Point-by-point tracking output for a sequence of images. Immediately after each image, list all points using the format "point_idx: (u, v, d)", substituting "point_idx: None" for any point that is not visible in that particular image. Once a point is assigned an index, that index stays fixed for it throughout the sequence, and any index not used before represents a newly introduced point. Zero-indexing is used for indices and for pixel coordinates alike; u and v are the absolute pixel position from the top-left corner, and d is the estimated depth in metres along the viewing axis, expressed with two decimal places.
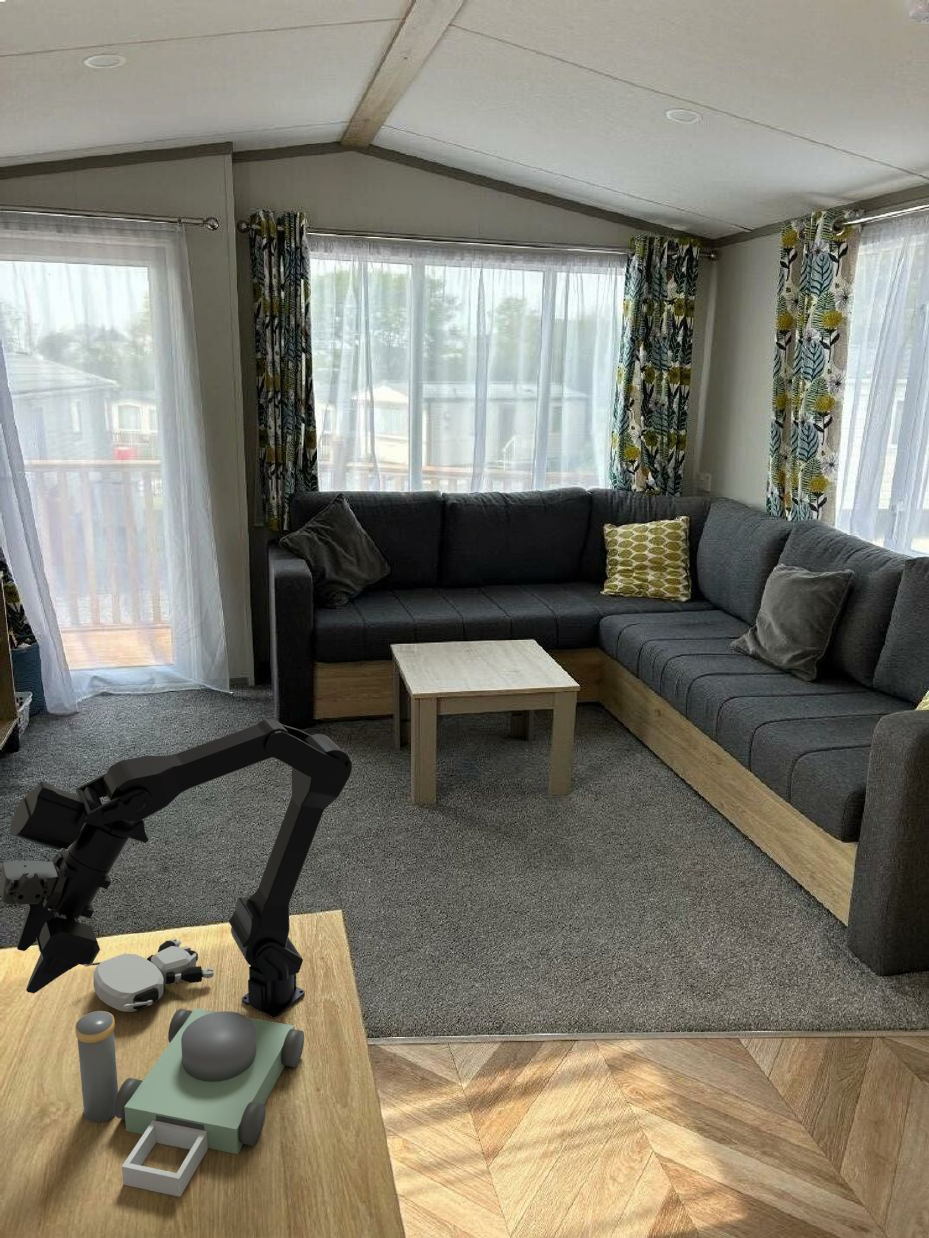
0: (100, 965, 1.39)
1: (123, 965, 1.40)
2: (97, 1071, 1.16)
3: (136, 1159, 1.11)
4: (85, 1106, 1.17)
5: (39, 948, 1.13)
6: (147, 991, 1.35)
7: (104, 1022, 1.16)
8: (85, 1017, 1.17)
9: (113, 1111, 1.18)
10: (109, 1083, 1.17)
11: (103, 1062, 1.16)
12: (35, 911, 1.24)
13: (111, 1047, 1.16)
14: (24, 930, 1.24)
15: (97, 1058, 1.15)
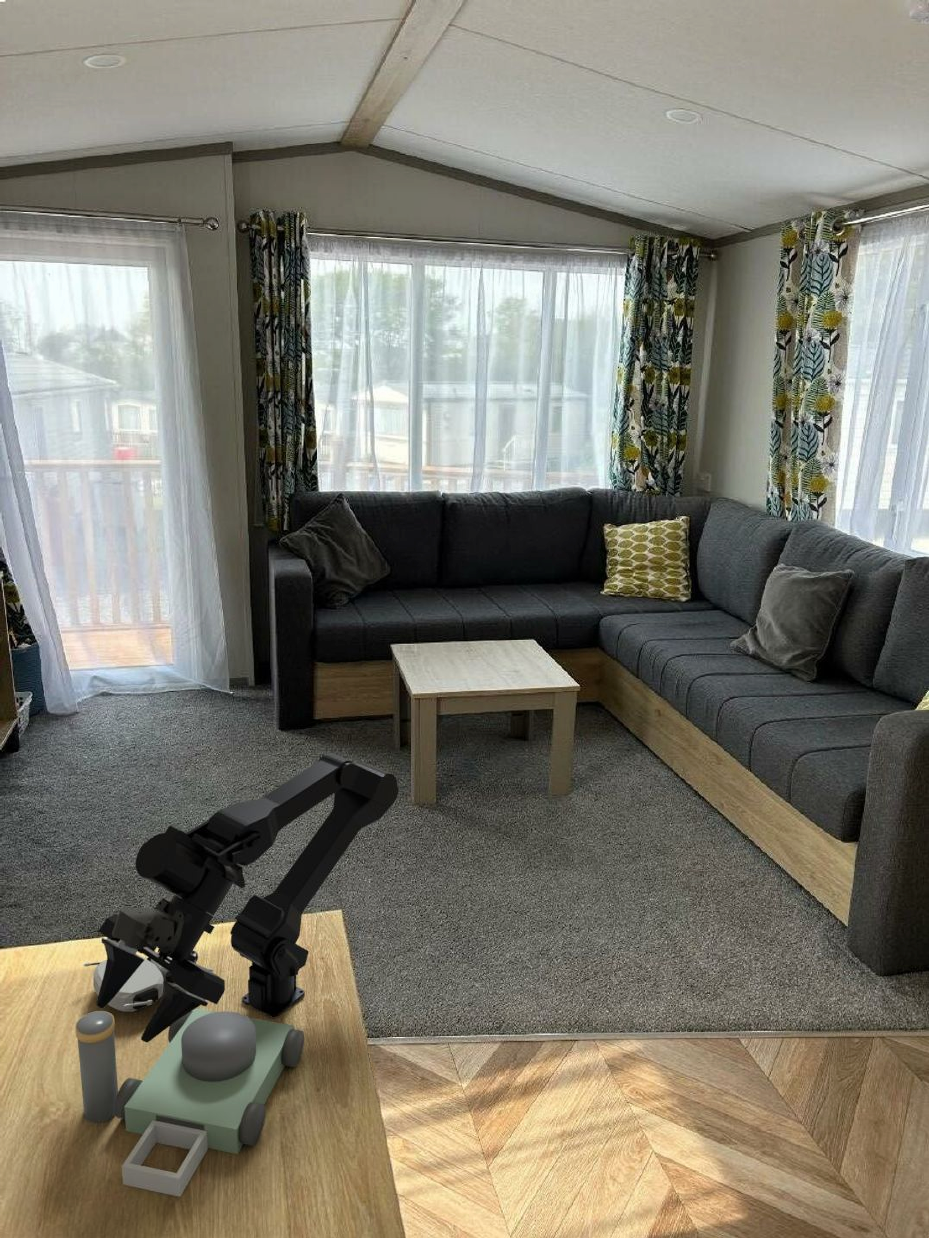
0: (100, 965, 1.39)
1: None
2: (97, 1071, 1.16)
3: (136, 1159, 1.11)
4: (85, 1106, 1.17)
5: (176, 989, 1.15)
6: (147, 991, 1.35)
7: (104, 1022, 1.16)
8: (85, 1017, 1.17)
9: (113, 1111, 1.18)
10: (109, 1083, 1.17)
11: (103, 1062, 1.16)
12: (118, 965, 1.23)
13: (111, 1048, 1.16)
14: (107, 985, 1.22)
15: (97, 1058, 1.15)
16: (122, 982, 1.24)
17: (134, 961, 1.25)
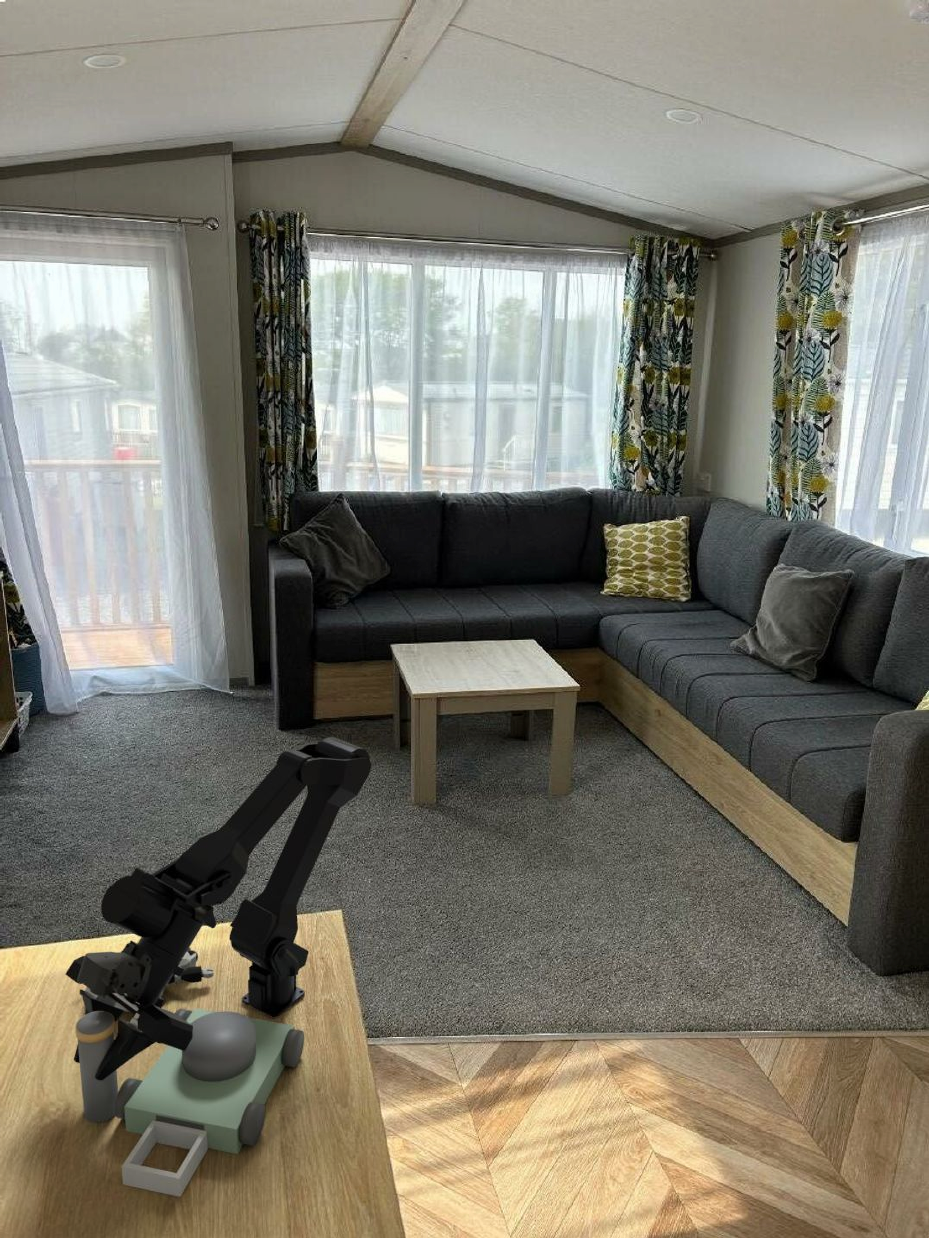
0: None
1: None
2: None
3: (136, 1159, 1.11)
4: (85, 1106, 1.17)
5: (130, 1028, 1.14)
6: None
7: (104, 1022, 1.16)
8: (85, 1017, 1.17)
9: (113, 1111, 1.18)
10: (109, 1083, 1.17)
11: None
12: None
13: None
14: None
15: (97, 1058, 1.15)
16: None
17: (113, 1013, 1.21)
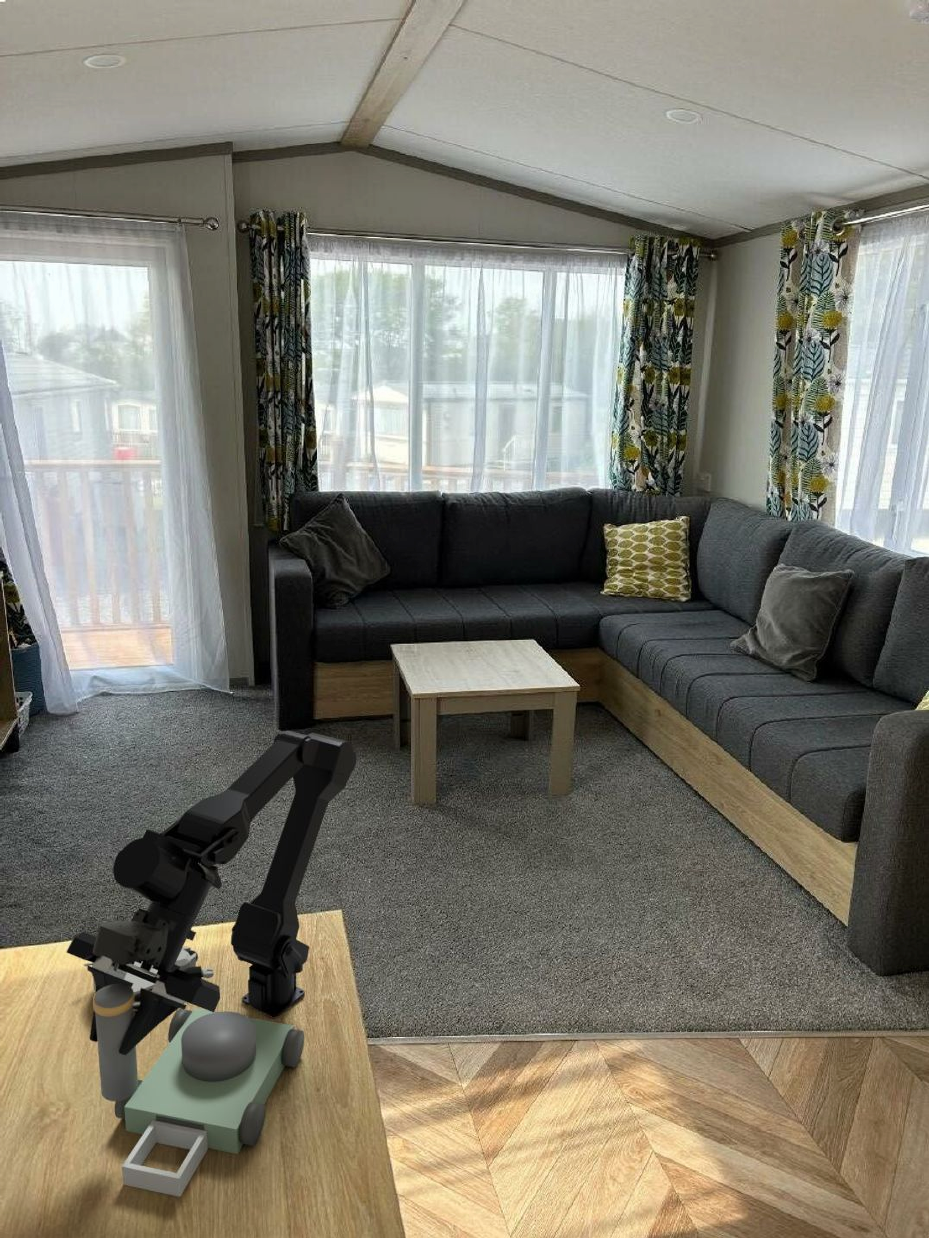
0: None
1: None
2: (120, 1046, 1.10)
3: (136, 1159, 1.11)
4: (105, 1085, 1.11)
5: (157, 994, 1.09)
6: None
7: (124, 994, 1.10)
8: (100, 992, 1.10)
9: (134, 1087, 1.13)
10: (131, 1057, 1.11)
11: None
12: None
13: None
14: None
15: (119, 1032, 1.09)
16: None
17: None
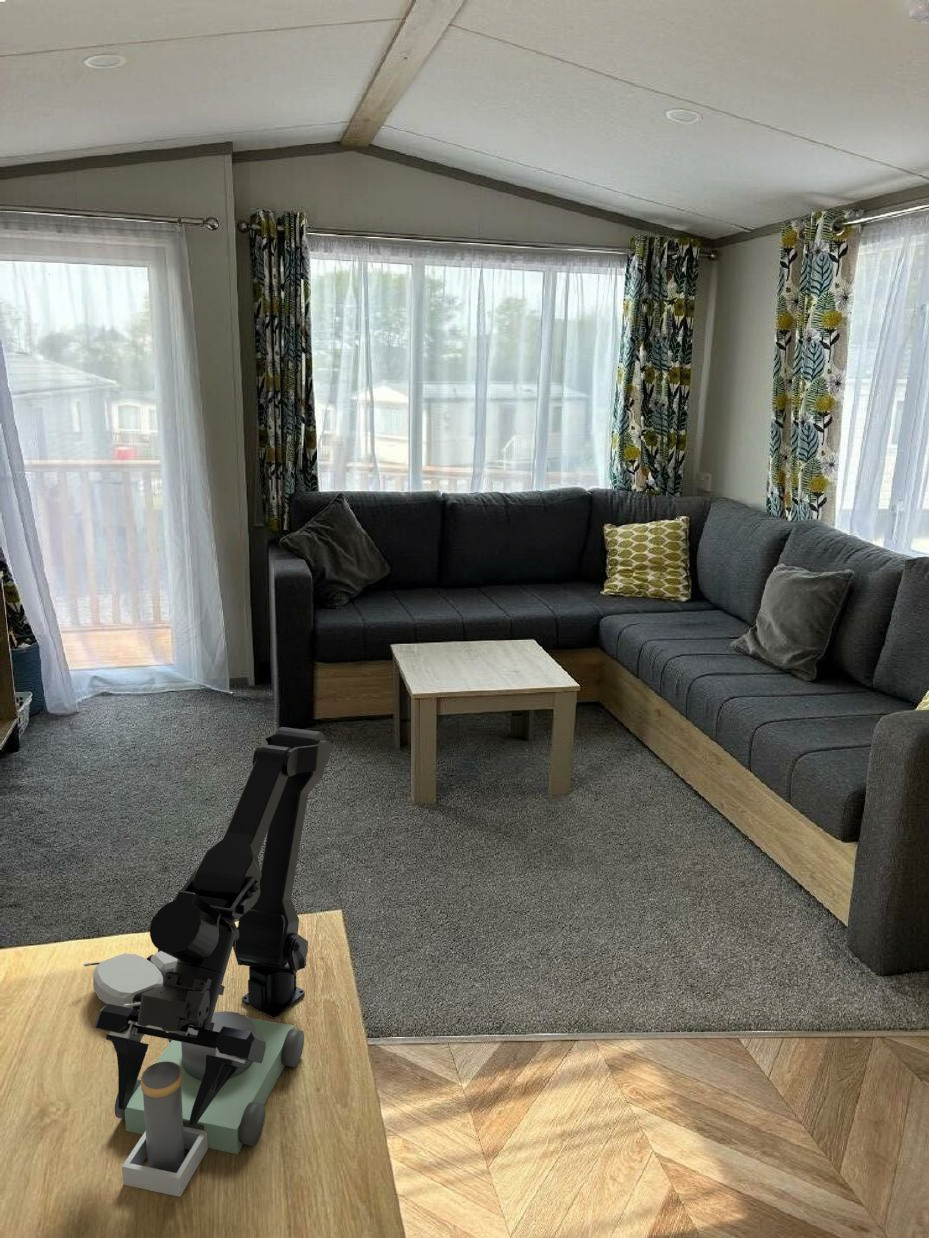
0: (100, 965, 1.39)
1: (123, 965, 1.40)
2: (172, 1124, 1.08)
3: (136, 1159, 1.11)
4: (156, 1166, 1.10)
5: (226, 1059, 1.07)
6: (146, 991, 1.35)
7: (171, 1071, 1.09)
8: (146, 1073, 1.09)
9: None
10: (181, 1133, 1.10)
11: (177, 1112, 1.09)
12: (132, 1058, 1.11)
13: (181, 1095, 1.10)
14: (126, 1083, 1.10)
15: (172, 1110, 1.08)
16: (136, 1075, 1.12)
17: (142, 1049, 1.13)
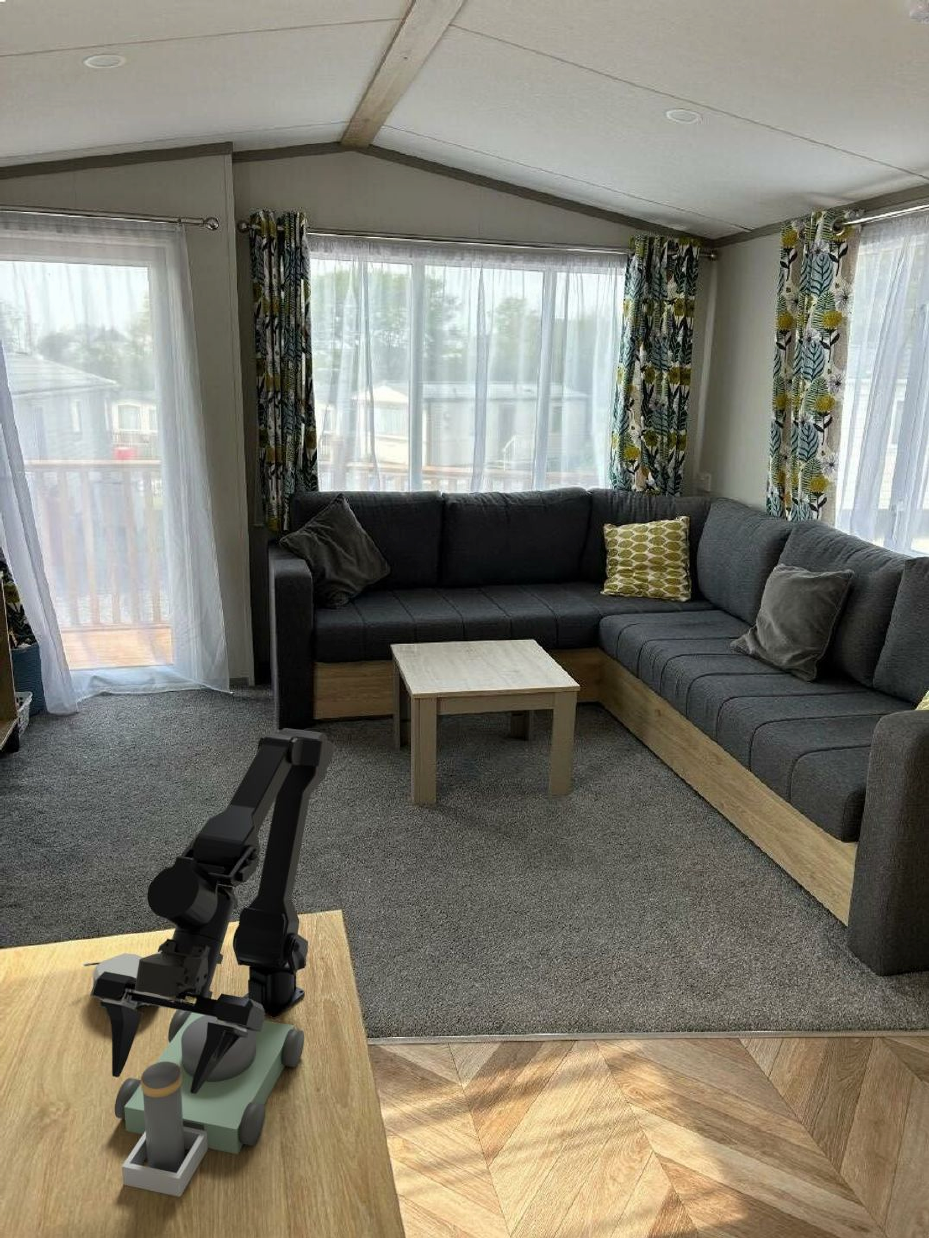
0: (100, 965, 1.39)
1: (123, 965, 1.40)
2: (172, 1124, 1.08)
3: (136, 1159, 1.11)
4: (156, 1166, 1.10)
5: (228, 1026, 1.06)
6: None
7: (171, 1071, 1.09)
8: (146, 1073, 1.09)
9: None
10: (181, 1133, 1.10)
11: (177, 1112, 1.09)
12: (126, 1025, 1.10)
13: (181, 1095, 1.10)
14: (120, 1050, 1.08)
15: (172, 1110, 1.08)
16: (130, 1043, 1.11)
17: (136, 1017, 1.12)
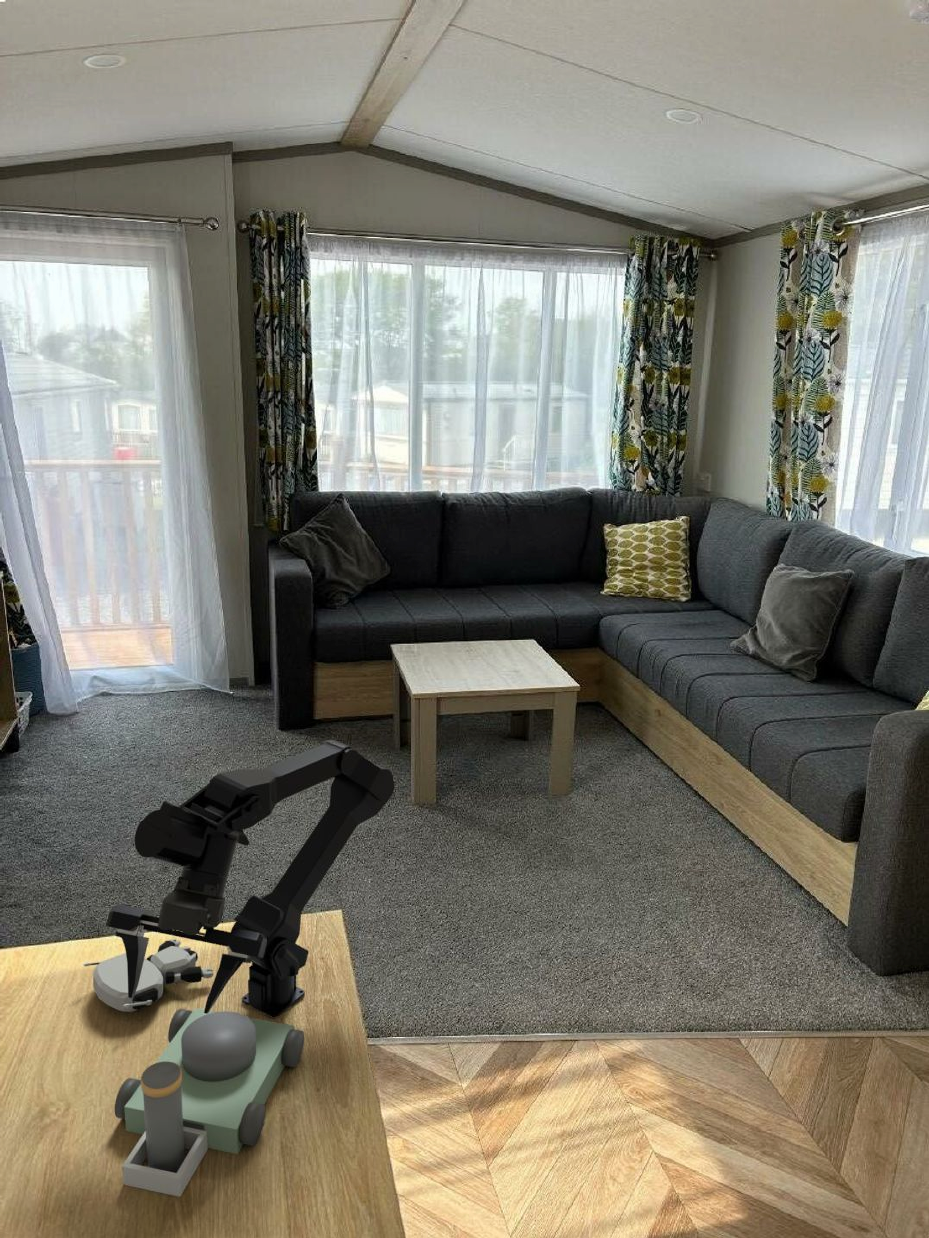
0: (100, 965, 1.39)
1: (123, 965, 1.40)
2: (172, 1124, 1.08)
3: (136, 1159, 1.11)
4: (156, 1166, 1.10)
5: (241, 958, 1.18)
6: (146, 991, 1.35)
7: (171, 1071, 1.09)
8: (146, 1073, 1.09)
9: None
10: (181, 1133, 1.10)
11: (177, 1112, 1.09)
12: (139, 952, 1.19)
13: (181, 1095, 1.10)
14: (135, 975, 1.18)
15: (172, 1110, 1.08)
16: (140, 966, 1.21)
17: (145, 943, 1.22)
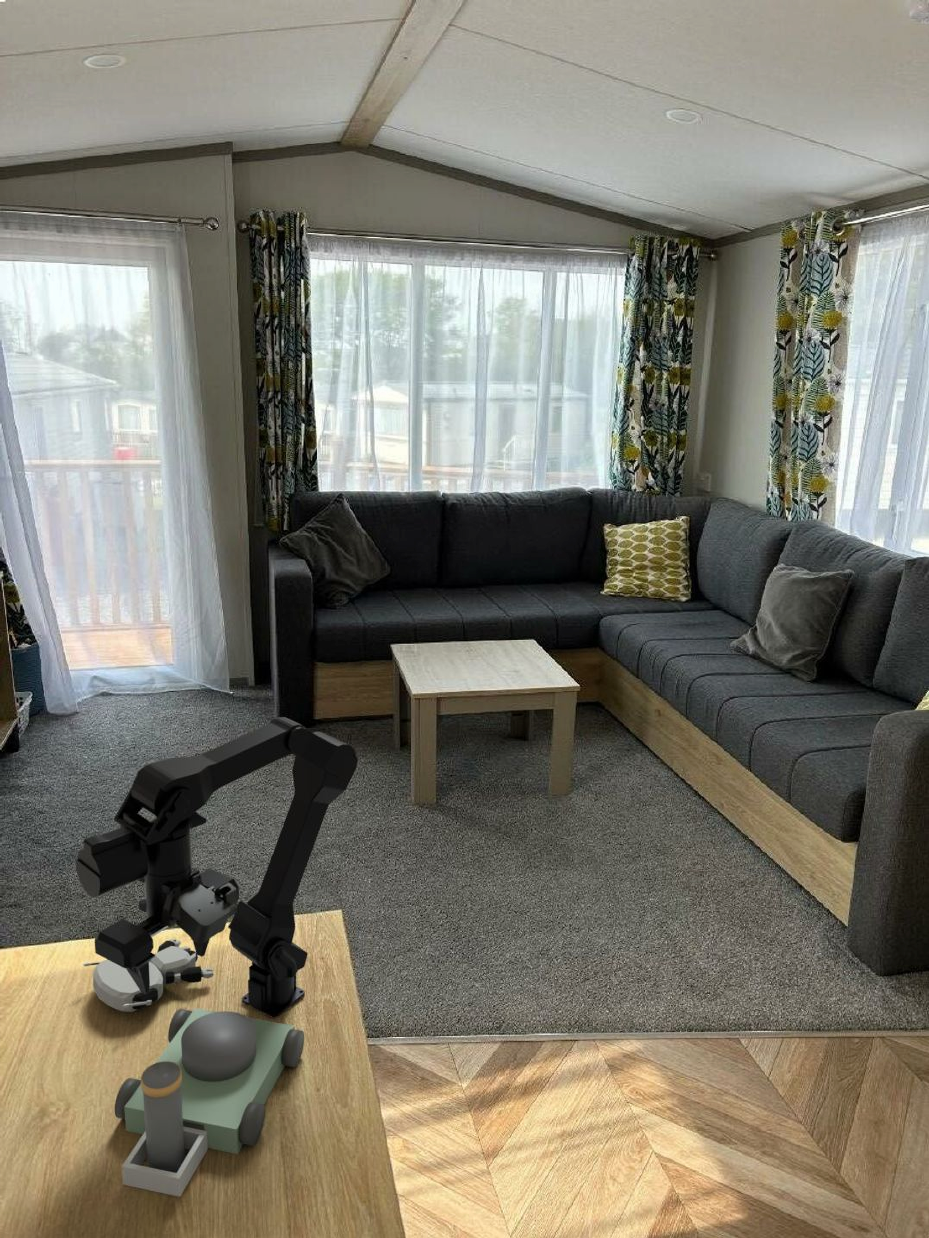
0: (100, 965, 1.39)
1: None
2: (172, 1124, 1.08)
3: (136, 1159, 1.11)
4: (156, 1166, 1.10)
5: None
6: None
7: (171, 1071, 1.09)
8: (146, 1073, 1.09)
9: None
10: (181, 1133, 1.10)
11: (177, 1112, 1.09)
12: None
13: (181, 1095, 1.10)
14: (148, 976, 1.21)
15: (172, 1110, 1.08)
16: None
17: None
